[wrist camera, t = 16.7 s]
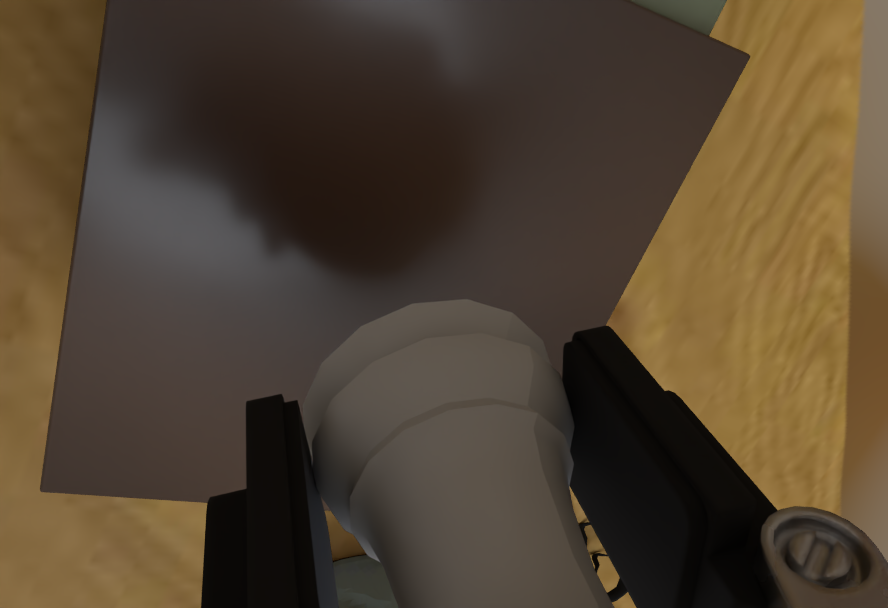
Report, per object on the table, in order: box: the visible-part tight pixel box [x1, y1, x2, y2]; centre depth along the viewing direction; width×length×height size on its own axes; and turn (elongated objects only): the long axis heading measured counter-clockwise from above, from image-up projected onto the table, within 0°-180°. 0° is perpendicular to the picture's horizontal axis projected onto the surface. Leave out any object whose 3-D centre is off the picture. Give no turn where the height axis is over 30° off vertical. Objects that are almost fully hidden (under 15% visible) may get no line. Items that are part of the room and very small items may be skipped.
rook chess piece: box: [303, 299, 614, 608], centre depth 9 cm, size 4×4×8 cm
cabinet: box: [40, 0, 750, 511], centre depth 19 cm, size 15×13×10 cm
